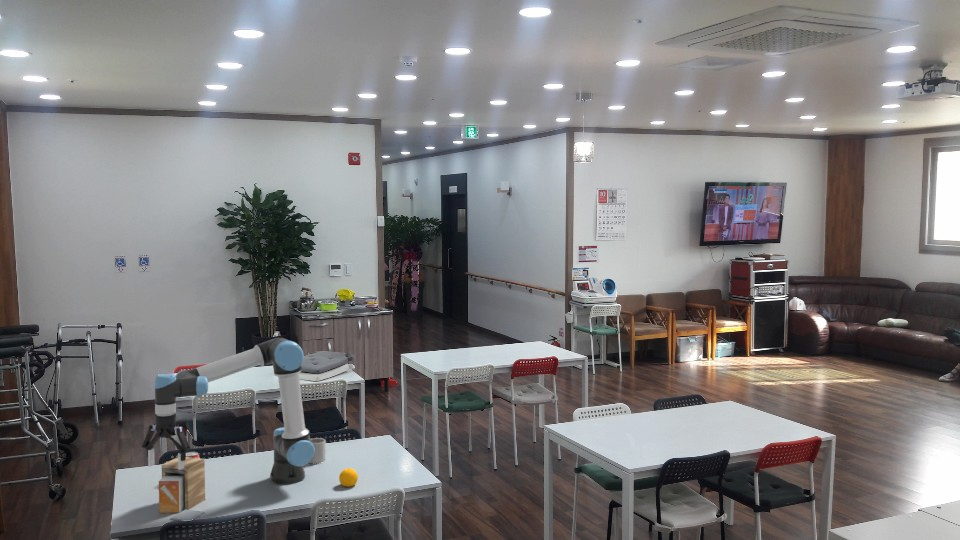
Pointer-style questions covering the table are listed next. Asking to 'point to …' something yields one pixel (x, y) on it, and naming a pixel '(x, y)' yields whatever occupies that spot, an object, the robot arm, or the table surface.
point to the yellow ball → (348, 477)
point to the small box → (171, 494)
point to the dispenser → (189, 478)
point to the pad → (187, 515)
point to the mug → (318, 450)
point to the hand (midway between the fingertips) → (166, 467)
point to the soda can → (192, 455)
